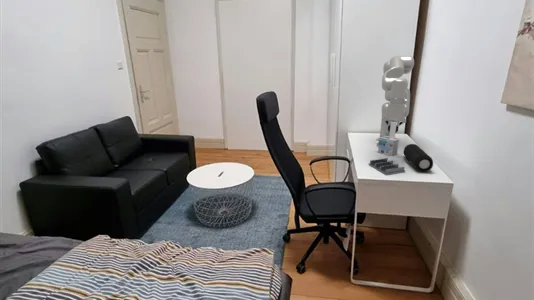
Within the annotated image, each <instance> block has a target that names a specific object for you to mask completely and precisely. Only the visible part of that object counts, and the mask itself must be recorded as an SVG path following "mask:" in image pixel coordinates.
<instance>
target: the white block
mask: <svg viewBox="0 0 534 300" xmlns="http://www.w3.org/2000/svg"><path fill="white" fill-rule="evenodd" d="M396 126H397V121H391V126H390V134H389V137H390V138H396V133H395V132H396Z"/></svg>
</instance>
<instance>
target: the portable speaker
mask: <svg viewBox="0 0 534 300" xmlns="http://www.w3.org/2000/svg"><path fill="white" fill-rule="evenodd" d="M403 155H404V157H406V159H407V160H408V161H409V162H410V164H412V166H413V167H414V168H415V169H416V170H417V171H419V172H423V173H425V172H428V171H430V170H432V169H433V166H434V161H433V160H434V159H433V158H432V157H431V156H429V154H428V153H426V152H425V151H424V150H423V149H422V148H421V147H420V146H419V145H418V144H415V143H408V144H407V145H406V146H405V147H404V149H403Z"/></svg>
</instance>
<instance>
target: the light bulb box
mask: <svg viewBox="0 0 534 300" xmlns="http://www.w3.org/2000/svg"><path fill="white" fill-rule="evenodd" d="M379 137H380V136H379ZM379 137H378V138H379ZM399 140H400V138H397V137H395V138H390V137H389V136H382V137H380V138H379V146H378V147H377V153H378V154H379V153H380V154H382V155H386V156H391V157H393V156H395V155H397V154H398V148H399V142H400V141H399Z"/></svg>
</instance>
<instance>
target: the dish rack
mask: <svg viewBox="0 0 534 300" xmlns="http://www.w3.org/2000/svg"><path fill="white" fill-rule="evenodd" d="M388 159H389V158H387V157H385V158H379V159H372V160H369V163H368V166H370V167H371V168H373V169H375V170H376V171H378V172H380V173H382V174H383V175H385V176H390V175H396V174H402V173H406V170H405V168H406V167H405V166H400V165H399V163H394V161H393V160H388ZM399 166H400V167H399Z"/></svg>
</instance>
